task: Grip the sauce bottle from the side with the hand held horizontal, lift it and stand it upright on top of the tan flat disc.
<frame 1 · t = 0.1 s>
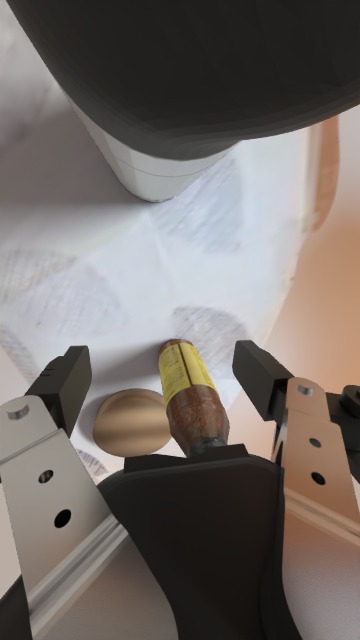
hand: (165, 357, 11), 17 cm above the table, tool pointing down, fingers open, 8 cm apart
sauce bottle: (178, 353, 32), on the table
tan flat disc: (135, 416, 37), on the table
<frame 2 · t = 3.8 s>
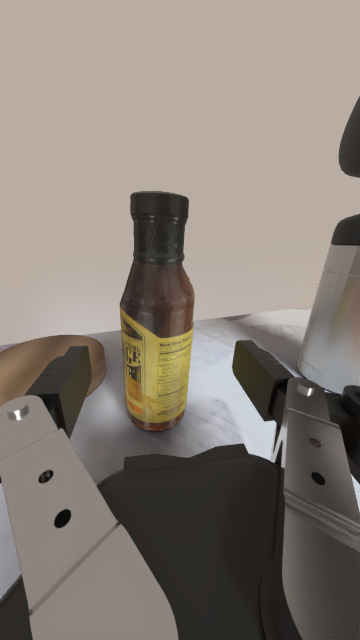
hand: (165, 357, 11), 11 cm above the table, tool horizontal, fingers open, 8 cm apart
sauce bottle: (157, 413, 22), on the table
tan flat disc: (51, 378, 26), on the table
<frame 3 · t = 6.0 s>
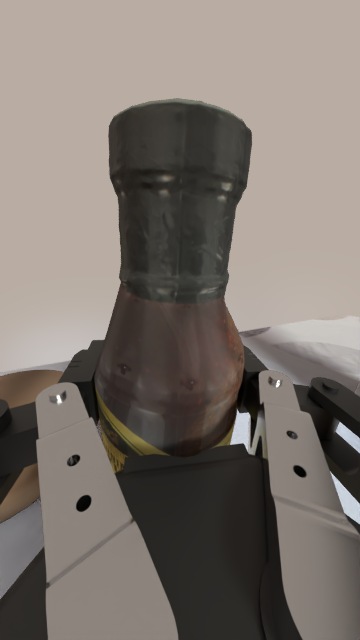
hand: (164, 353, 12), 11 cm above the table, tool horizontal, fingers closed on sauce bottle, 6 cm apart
sauce bottle: (165, 520, 14), on the table, touching gripper
tan flat disc: (8, 442, 18), on the table
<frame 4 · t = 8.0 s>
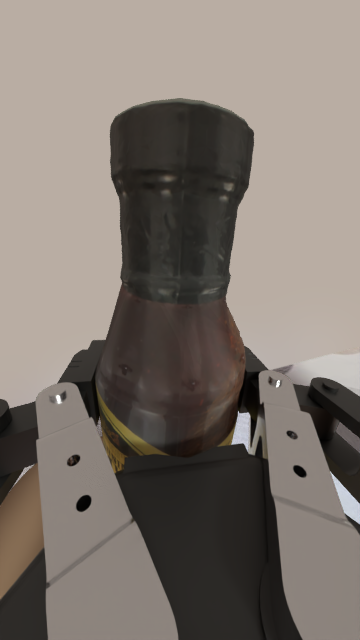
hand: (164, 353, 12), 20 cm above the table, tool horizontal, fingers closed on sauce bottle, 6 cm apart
sauce bottle: (165, 520, 14), point 8 cm above the table, touching gripper
tan flat disc: (81, 518, 20), on the table
when the fingers open (15 cm above the table, at t = 10.1 s): sauce bottle drops 1 cm, resting on tan flat disc.
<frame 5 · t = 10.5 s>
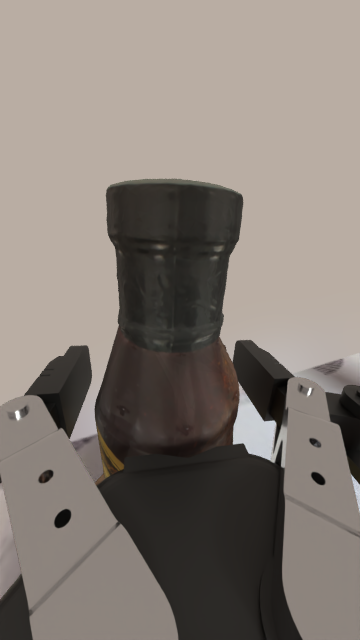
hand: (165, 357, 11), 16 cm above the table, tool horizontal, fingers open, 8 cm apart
sauce bottle: (165, 536, 14), point 3 cm above the table, touching tan flat disc
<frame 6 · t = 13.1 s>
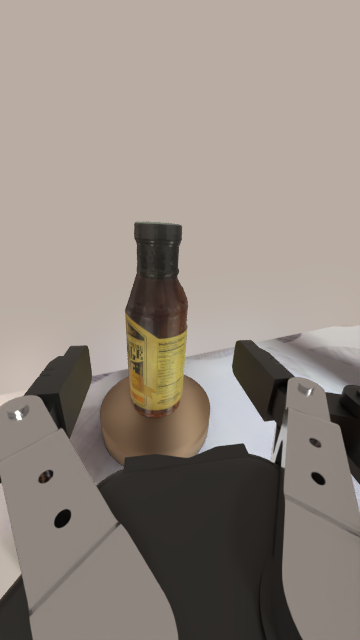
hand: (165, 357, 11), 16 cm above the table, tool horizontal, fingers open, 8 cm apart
sauce bottle: (156, 403, 25), point 3 cm above the table, touching tan flat disc
tan flat disc: (156, 419, 26), on the table
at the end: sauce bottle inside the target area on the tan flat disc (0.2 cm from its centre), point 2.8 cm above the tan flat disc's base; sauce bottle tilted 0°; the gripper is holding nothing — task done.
